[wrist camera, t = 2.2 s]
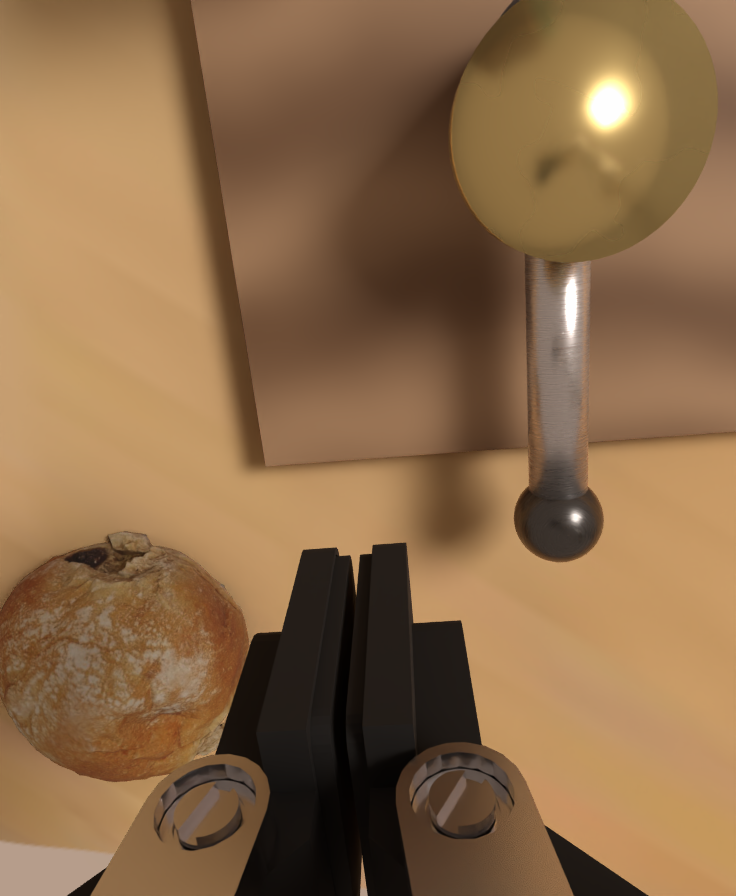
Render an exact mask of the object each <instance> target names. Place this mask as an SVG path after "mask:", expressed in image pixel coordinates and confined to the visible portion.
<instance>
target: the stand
mask: <svg viewBox="0 0 736 896" xmlns="http://www.w3.org/2000/svg"><path fill="white" fill-rule="evenodd" d="M512 1H513V0H191V6H192V12H193V18H194V24H195V31H196V37H197V43H198V49H199V55H200V62H201V68H202V74H203V80H204V86H205V93H206V99H207V105H208V111H209V118H210V124H211V130H212V136H213V142H214V149H215V155H216V161H217V167H218V173H219V180H220V186H221V192H222V198H223V204H224V211H225V217H226V223H227V229H228V235H229V242H230V248H231V254H232V260H233V266H234V273H235V279H236V285H237V291H238V298H239V304H240V310H241V316H242V322H243V329H244V335H245V341H246V347H247V353H248V360H249V366H250V372H251V378H252V384H253V391H254V397H255V403H256V409H257V415H258V422H259V428H260V434H261V440H262V446H263V453H264V459H265V465H266V466H279V465H292V464H306V463H319V462H333V461H346V460H359V459H373V458H386V457H400V456H413V455H427V454H440V453H454V452H467V451H480V450H494V449H507V448H521V447H528V408H527V353H526V298H525V253H522V252H520V251H517V250H515V249H513V248H511V247H509V246H507V245H505V244H504V243H502V242H500V241H498V240H497V239H496V238H495V237H493V236H492V235H491V234H490V233H488V232H487V231H486V230H485V229H484V228H483V227H482V226H481V225H480V224H479V223H478V222H477V221H476V219H475V218H474V217H473V215H472V214H471V212H470V211H469V210H468V208H467V206H466V205H465V203H464V201H463V199H462V197H461V195H460V193H459V191H458V188H457V185H456V183H455V180H454V176H453V172H452V168H451V164H450V156H449V147H448V133H449V122H450V114H451V109H452V105H453V101H454V97H455V93H456V91H457V88H458V85H459V83H460V80H461V77H462V75H463V73H464V71H465V68H466V66H467V65H468V63H469V61H470V59H471V57H472V55H473V53H474V51H475V49H476V48H477V46H478V45H479V43H480V42H481V40H482V39H483V37H484V36H485V34H486V33H487V32H488V31H489V30H490V28H491V27H492V26H493V25H494V24H495V23H496V21H497V20H498V19H499V18H500V16H501V15H502V13H503V12H504V11H505V9H506V8H507V7H508V6H509V5H510V4H511V2H512ZM674 1H675V2H676V3H677V4H678V5H679V6H681V7H682V8H683V9H684V10H685V12H686V13H687V14H688V15H689V17H690V18H691V19H692V20H693V22H694V23H695V24H696V26H697V28H698V30H699V31H700V33H701V35H702V36H703V38H704V40H705V43H706V45H707V48H708V50H709V53H710V55H711V58H712V62H713V66H714V70H715V74H716V82H717V91H718V114H717V121H716V129H715V134H714V138H713V142H712V146H711V150H710V153H709V155H708V158H707V161H706V163H705V166H704V169H703V170H702V172H701V174H700V176H699V178H698V180H697V182H696V184H695V186H694V187H693V189H692V190H691V192H690V193H689V195H688V196H687V198H686V199H685V201H684V202H683V203H682V205H681V206H680V207H679V208H678V209H677V211H676V212H675V213H674V214H673V215H672V216H671V217H670V218H669V219H668V220H667V221H666V222H665V223H664V224H663V225H662V226H661V227H660V228H658V229H657V230H656V231H654V232H653V233H652V234H651V235H649V236H648V237H647V238H645V239H644V240H642V241H640V242H639V243H637V244H635V245H633V246H632V247H630V248H628V249H626V250H623V251H621V252H619V253H616V254H614V255H611V256H607V257H604V258H601V259H597V260H591V279H590V350H589V421H588V442H601V441H615V440H628V439H642V438H655V437H669V436H682V435H695V434H709V433H722V432H736V0H674Z"/></svg>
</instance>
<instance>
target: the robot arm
mask: <svg viewBox="0 0 736 896" xmlns="http://www.w3.org/2000/svg"><path fill="white" fill-rule="evenodd" d="M362 858H363V865H364V872H365V879H366V886H367V893H368V896H648V895H646V894H645V893H643V892H642V891H641V890H639V889H638V888H636V887H635V886H633V885H632V884H630V883H629V882H627V881H626V880H624V879H623V878H621V877H620V876H619V875H617V874H616V873H614V872H613V871H611V870H610V869H608V868H607V867H605V866H604V865H602V864H601V863H599V862H598V861H596V860H595V859H594V858H592V857H591V856H589V855H588V854H586V853H585V852H583V851H582V850H580V849H579V848H577V847H576V846H574V845H573V844H572V843H570V842H569V841H567V840H566V839H564V838H563V837H561V836H560V835H558V834H557V833H555V832H554V831H552V830H551V829H550V828H548V827H547V826H545V825H544V823H543V821H542V819H541V816H540V814H539V812H538V809H537V807H536V804H535V802H534V800H533V797H532V795H531V793H530V790H529V788H528V785H527V783H526V781H525V779H524V778H523V776H522V775H521V773H520V771H519V770H518V768H517V767H516V765H514V764H513V763H512V762H511V761H510V760H508V759H507V758H506V757H505V756H504V755H503V754H501V753H499V752H497V751H495V750H492V749H490V748H488V747H486V746H483V745H482V744H481V737H480V731H479V725H478V719H477V713H476V707H475V701H474V695H473V689H472V683H471V677H470V671H469V664H468V658H467V652H466V646H465V640H464V634H463V628H462V623H461V620H460V621H444V622H428V623H413V613H412V601H411V590H410V579H409V568H408V556H407V546H406V543H394V544H380V545H373V548H372V554H363V555H360V562H359V573H358V584H357V595H356V592H355V583H354V575H353V567H352V560H351V556H350V555H349V556H339V552H338V549H337V548H323V549H309V550H303V552H302V555H301V559H300V563H299V566H298V570H297V574H296V578H295V582H294V586H293V590H292V594H291V598H290V602H289V606H288V609H287V613H286V617H285V621H284V625H283V629H282V632H269V633H257V634H256V635H254V637H253V639H252V641H251V644H250V647H249V651H248V654H247V657H246V660H245V663H244V666H243V669H242V673H241V676H240V679H239V682H238V685H237V688H236V691H235V694H234V698H233V701H232V704H231V707H230V710H229V713H228V716H227V719H226V723H225V726H224V729H223V732H222V735H221V738H220V741H219V745H218V748H217V751H216V754H215V755H210V756H206V757H203V758H199V759H196V760H193V761H191V762H189V763H187V764H185V765H183V766H181V767H179V768H177V769H176V770H174V771H173V772H172V773H170V774H169V775H168V776H167V777H166V778H164V779H163V780H162V781H161V782H160V783H158V785H157V786H156V787H155V789H154V790H153V791H152V793H151V794H150V795H149V796H148V798H147V799H146V801H145V803H144V804H143V806H142V808H141V809H140V811H139V813H138V815H137V816H136V818H135V820H134V822H133V823H132V825H131V827H130V828H129V830H128V832H127V834H126V835H125V837H124V839H123V840H122V842H121V844H120V846H119V847H118V849H117V851H116V853H115V854H114V856H113V858H112V860H111V861H110V863H109V865H108V866H107V868H105V869H104V870H102V871H101V872H100V873H98V874H97V875H96V876H94V877H93V878H91V879H90V880H88V881H87V882H86V883H84V884H83V885H81V886H80V887H79V888H77V889H76V890H75V891H73V892H72V893H70V894H69V895H68V896H360V884H361V863H362Z"/></svg>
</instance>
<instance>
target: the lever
mask: <svg viewBox="0 0 736 896" xmlns="http://www.w3.org/2000/svg"><path fill="white" fill-rule="evenodd" d="M717 114H718V91H717V82H716V74H715V70H714V66H713V62H712V58H711V55H710V53H709V50H708V48H707V45H706V43H705V40H704V38H703V36H702V35H701V33H700V31H699V30H698V28H697V26H696V24H695V23H694V22H693V20H692V19H691V18H690V17H689V15H688V14H687V13H686V12H685V10H684V9H683V8H682V7H681V6H679V5H678V4H677V3H676V2H675V1H674V0H513V1H512V2H511V4H510V5H509V6H508V7H507V8H506V9H505V11H504V12H503V13H502V15H501V16H500V18H499V19H498V20H497V21H496V23H495V24H494V25H493V26H492V27H491V28H490V30H489V31H488V32H487V33H486V34H485V36H484V37H483V39H482V40H481V42H480V43H479V45H478V46H477V48H476V49H475V51H474V53H473V55H472V57H471V59H470V61H469V63H468V65H467V66H466V68H465V71H464V73H463V75H462V77H461V80H460V83H459V85H458V88H457V91H456V93H455V97H454V101H453V105H452V109H451V114H450V122H449V133H448V147H449V156H450V164H451V168H452V172H453V176H454V180H455V183H456V185H457V188H458V191H459V193H460V195H461V197H462V199H463V201H464V203H465V205H466V206H467V208H468V210H469V211H470V212H471V214H472V215H473V217H474V218H475V219H476V221H477V222H478V223H479V224H480V225H481V226H482V227H483V228H484V229H485V230H486V231H487V232H488V233H490V234H491V235H492V236H493V237H495V238H496V239H497V240H498V241H500V242H502V243H504V244H505V245H507V246H509V247H511V248H513V249H515V250H517V251H520V252H522V253H525V298H526V353H527V408H528V463H529V486H528V487H527V488H526V489H525V490H524V491H523V492H522V494H521V495H520V497H519V499H518V501H517V503H516V506H515V511H514V524H515V529H516V532H517V534H518V537H519V539H520V540H521V542H522V543H523V544H524V546H525V547H526V548H527V549H528V550H529V551H530V552H532V553H533V554H535V555H536V556H538V557H540V558H542V559H545V560H548V561H553V562H568V561H572V560H575V559H578V558H580V557H582V556H584V555H585V554H587V553H588V552H589V551H590V550H591V549H592V548H593V547H594V546H595V545H596V543H597V541H598V540H599V538H600V536H601V533H602V529H603V522H604V518H603V511H602V507H601V504H600V502H599V500H598V498H597V496H596V495H595V494H594V492H593V491H592V490H591V489H590V488H589V487H588V421H589V350H590V279H591V260H597V259H601V258H604V257H607V256H611V255H614V254H616V253H619V252H621V251H623V250H626V249H628V248H630V247H632V246H633V245H635V244H637V243H639V242H640V241H642V240H644V239H645V238H647V237H648V236H649V235H651V234H652V233H653V232H654V231H656V230H657V229H658V228H660V227H661V226H662V225H663V224H664V223H665V222H666V221H667V220H668V219H669V218H670V217H671V216H672V215H673V214H674V213H675V212H676V211H677V209H678V208H679V207H680V206H681V205H682V203H683V202H684V201H685V199H686V198H687V196H688V195H689V193H690V192H691V190H692V189H693V187H694V186H695V184H696V182H697V180H698V178H699V176H700V174H701V172H702V170H703V169H704V166H705V163H706V161H707V158H708V155H709V153H710V150H711V146H712V142H713V138H714V134H715V129H716V121H717Z"/></svg>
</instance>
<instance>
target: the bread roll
mask: <svg viewBox="0 0 736 896" xmlns="http://www.w3.org/2000/svg"><path fill="white" fill-rule="evenodd" d="M108 537H109V540H110V542H109V543H101V544H96V545H92V546H89V547H85V548H82V549H78V550H75V551H72V552H70V553H68V554H65V555H62V556H56V557H53V558H52V559H51V560H50V561H48V562H47V563H46V564H44V565H42V566H40V567H39V568H37V569H36V570H35V571H33V572H32V573H30V574H29V575H27V576H26V577H25V578H23V579H22V580H21V582H20V583H19V584H18V585H17V586H16V587H15V589H14V590H13V591H12V593H11V595H10V596H9V598H8V599H7V601H6V603H5V604H4V606H3V608H2V610H1V612H0V697H1V699H2V701H3V703H4V705H5V707H6V709H7V712H8V714H9V715H10V717H11V718H12V719H13V721H14V723H15V725H16V727H17V728H18V730H19V731H20V732H21V733H22V734H23V735H24V736H25V737H26V738H27V740H28V741H29V742H30V744H31V745H32V746H33V747H35V749H36V750H37V751H39V752H40V753H42V754H43V755H44V756H45V757H47V758H49V759H50V760H51V761H53V762H54V763H56V764H58V765H60V766H62V767H64V768H67V769H70V770H72V771H75V772H76V773H77V774H79V775H84V776H89V777H91V778H96V779H101V780H105V781H112V782H120V781H131V780H141V779H147V778H149V777H152V776H160V775H166V774H170V773H172V772H173V771H174V770H176V769H177V768H179V767H181V766H183V765H185V764H187V763H189V762H191V761H193V759H194V757H195V756H196V755H207V754H209V753H211V752H212V751H214V750H216V748H217V747H218V745H219V741H220V738H221V735H222V732H223V729H224V726H225V723H223V724H221V725H220V723H221V722H222V721H223V719H224V718H225V717H226V715H227V714H228V713H229V710H230V707H231V704H232V701H233V698H234V694H235V691H236V688H237V685H238V682H239V679H240V676H241V673H242V669H243V666H244V663H245V660H246V657H247V654H248V651H249V647H250V645H249V639H248V634H247V628H246V624H245V620H244V617H243V614H242V610H241V608H240V607H239V606H238V605H236V603H235V602H234V601H233V598H232V597H231V596H230V595H229V593H228V592H227V591H226V589H225V587H224V585H223V584H220V583H219V582H218V581H217V580H215V579H214V578H213V577H212V576H210V574H209V573H208V572H207V571H206V570H205V569H204V568H202V567H201V566H200V565H199V564H198V563H196V562H195V561H194V560H192V559H191V558H189V557H188V556H186V555H185V554H183V553H181V552H178V551H176V550H173V549H169V548H165V547H153V545H152V544H151V543H150V541H149V539H148V538H147V536H146V535H144V534H139V533H131V532H120V533H115V534H111V535H108Z"/></svg>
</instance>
